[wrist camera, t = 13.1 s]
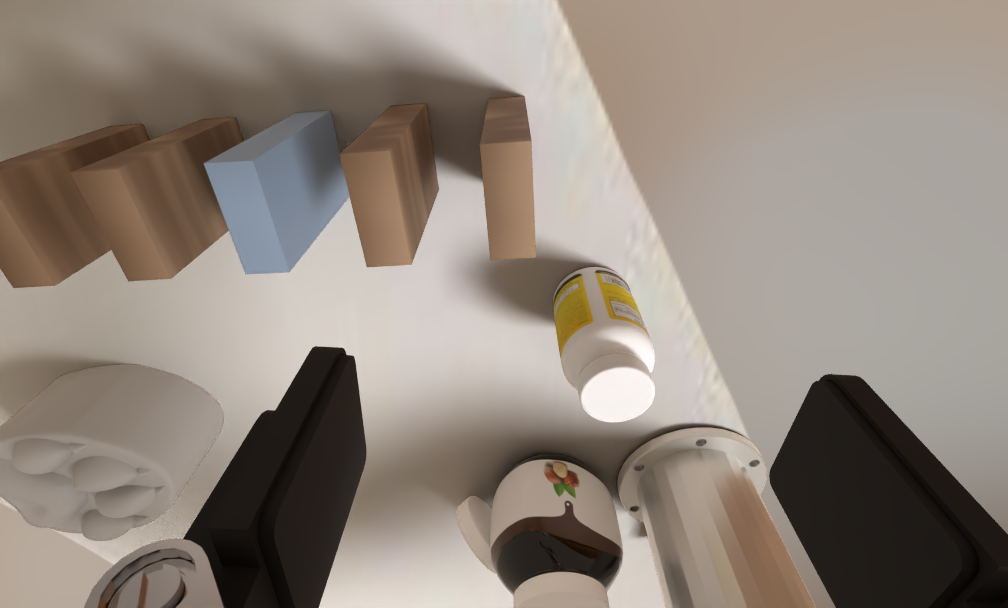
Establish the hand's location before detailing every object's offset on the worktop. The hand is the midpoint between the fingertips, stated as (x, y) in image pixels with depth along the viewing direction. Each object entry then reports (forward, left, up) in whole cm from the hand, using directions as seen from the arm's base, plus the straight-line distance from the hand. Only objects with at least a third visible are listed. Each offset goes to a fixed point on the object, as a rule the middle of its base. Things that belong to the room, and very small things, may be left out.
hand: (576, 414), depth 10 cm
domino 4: (0, +1, -22) cm, 22 cm away
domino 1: (0, +23, -22) cm, 32 cm away
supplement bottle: (-11, -4, -22) cm, 25 cm away
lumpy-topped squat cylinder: (-20, +33, -22) cm, 44 cm away
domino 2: (0, +18, -22) cm, 28 cm away
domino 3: (0, +7, -22) cm, 23 cm away
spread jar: (-31, +1, -22) cm, 38 cm away
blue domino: (0, +12, -22) cm, 25 cm away
